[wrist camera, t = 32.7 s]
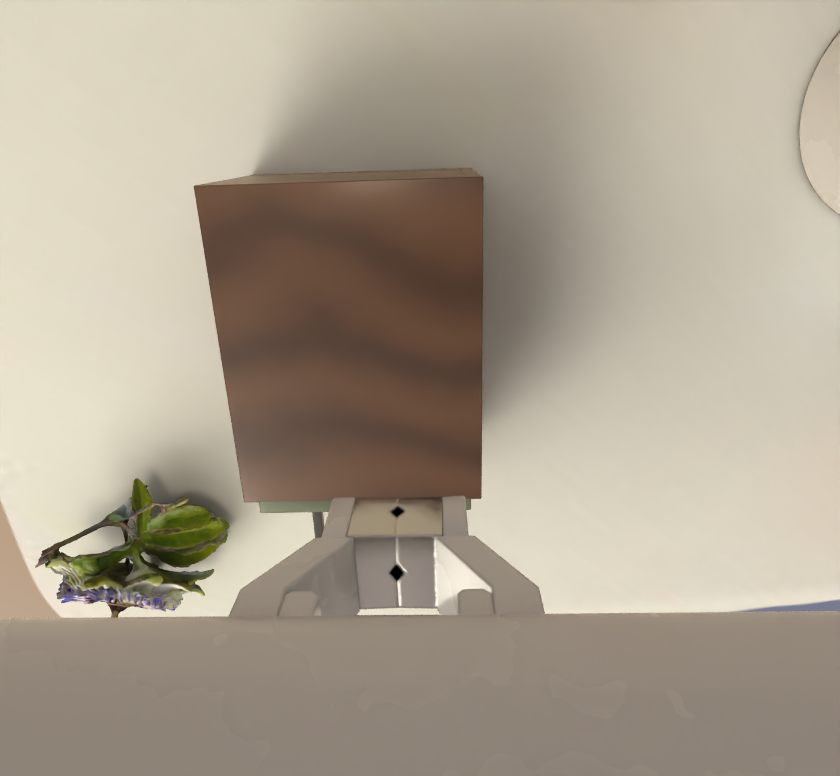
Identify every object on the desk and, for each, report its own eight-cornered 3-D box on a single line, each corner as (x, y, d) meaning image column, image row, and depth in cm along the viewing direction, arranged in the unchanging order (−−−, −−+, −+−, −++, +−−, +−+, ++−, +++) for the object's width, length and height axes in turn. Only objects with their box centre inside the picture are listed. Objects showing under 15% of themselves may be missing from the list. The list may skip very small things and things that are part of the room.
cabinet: (471, 424, 47) (481, 499, 38) (283, 428, 48) (243, 502, 38) (471, 167, 40) (483, 176, 31) (251, 175, 41) (193, 185, 31)
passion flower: (179, 526, 58) (55, 619, 50) (141, 433, 52) (-6, 522, 44) (260, 576, 52) (134, 690, 44) (228, 477, 46) (76, 589, 38)
